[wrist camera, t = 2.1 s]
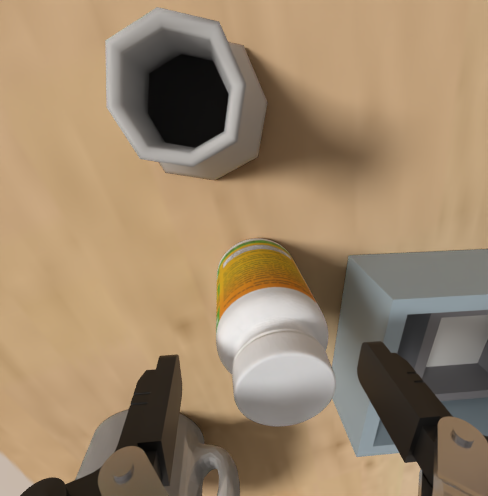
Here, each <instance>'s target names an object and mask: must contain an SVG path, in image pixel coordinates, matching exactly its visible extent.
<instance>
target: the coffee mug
mask: <svg viewBox="0 0 488 496" xmlns="http://www.w3.org/2000/svg"><path fill="white" fill-rule="evenodd" d="M127 413H128V410H125V411H122V412H119V413H117V414H115V415H113V416H111V417H109V418H108V419H106V420H105V421H104V422H103V423H101V424H100V425H99V427H98V428H97V429H96V431H95V433H94V435H93V438H92V440H91V443H90V445H89V447H88V450H87V452H86V455H85V457H84V460H83V462H82V465H81V467H80V469H79V472H78V474H77V477H76V479H75V480H77V479H79V478H82V477H84V476H86V475H89V474H91V473H93V472H94V471H96V470H98V469H99V468H100V467H102V466H103V464H104V462H105V461H106V460H107V459H108V458H109V457H110V456H111V455H112V454H113V453H114V451H115V450H116V447H117V445H118V442H119V439H120V435H121V432H122V429H123V426H124V423H125V420H126V417H127ZM213 469H217V470H218V474H219V489H218V493H217V496H240V483H239V477H238V471H237V468H236V465H235V463H234V461H233V459H232V457H231V455H230V454H229V453H228V452H227V451H226V450H225V449H224V448H221V447H219V446H216V445H206V444H204V437H203V434H202V432H201V430H200V429H199V427H198V426H197V425H196V424H195V423H194V422H193V421H192V420H190V419H189V418H187V417H186V416H184V415H182V414H180V413H179V421H178V428H177V436H176V443H175V450H174V458H173V465H172V473H171V480H170V486H167V487H164V488H165V490H166V492H167V494H168V495H169V496H202V484H203V479H204V477H205V476H206V475H207V474H208V473H209V471H211V470H213Z"/></svg>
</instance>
